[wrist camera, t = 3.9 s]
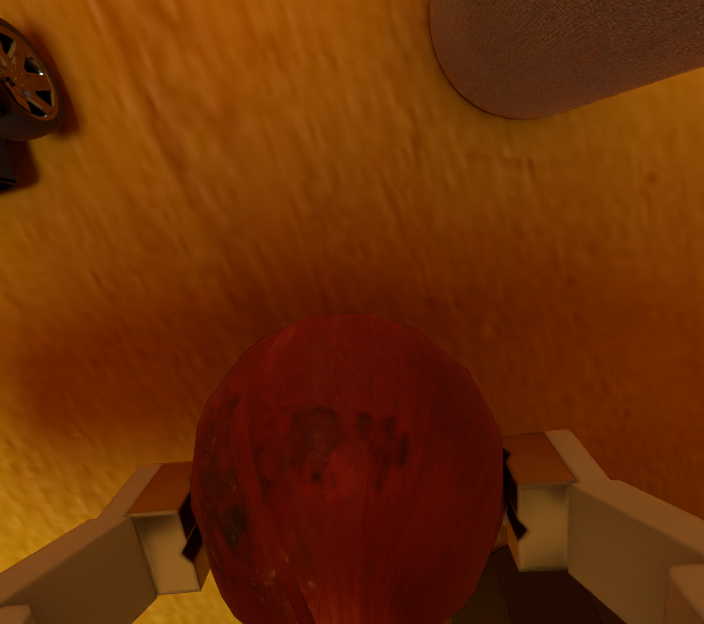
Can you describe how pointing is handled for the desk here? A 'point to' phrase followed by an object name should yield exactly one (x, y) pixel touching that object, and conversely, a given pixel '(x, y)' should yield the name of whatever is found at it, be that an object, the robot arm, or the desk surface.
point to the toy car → (24, 98)
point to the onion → (347, 477)
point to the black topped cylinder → (562, 49)
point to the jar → (530, 597)
